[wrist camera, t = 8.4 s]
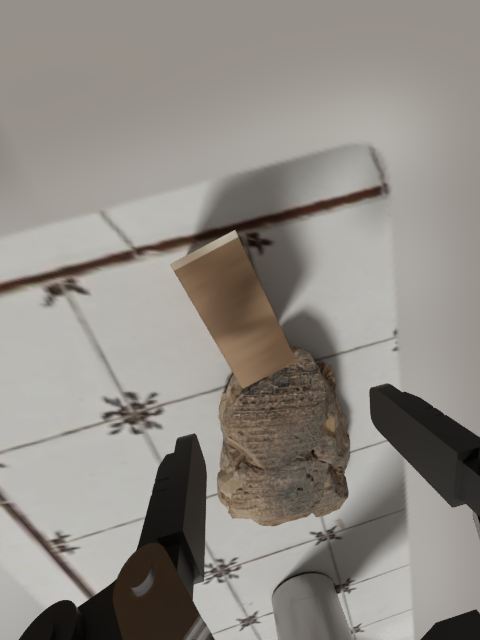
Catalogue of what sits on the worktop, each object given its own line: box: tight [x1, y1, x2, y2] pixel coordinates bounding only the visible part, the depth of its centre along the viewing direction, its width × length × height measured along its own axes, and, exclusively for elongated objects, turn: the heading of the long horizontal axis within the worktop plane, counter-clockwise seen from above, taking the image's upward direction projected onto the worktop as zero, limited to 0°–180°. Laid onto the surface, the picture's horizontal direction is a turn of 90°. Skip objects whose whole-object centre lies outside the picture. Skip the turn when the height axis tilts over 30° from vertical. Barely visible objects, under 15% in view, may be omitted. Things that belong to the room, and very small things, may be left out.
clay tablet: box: [217, 347, 350, 526], centre depth 21 cm, size 14×5×20 cm
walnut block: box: [170, 230, 297, 388], centre depth 16 cm, size 4×6×9 cm
